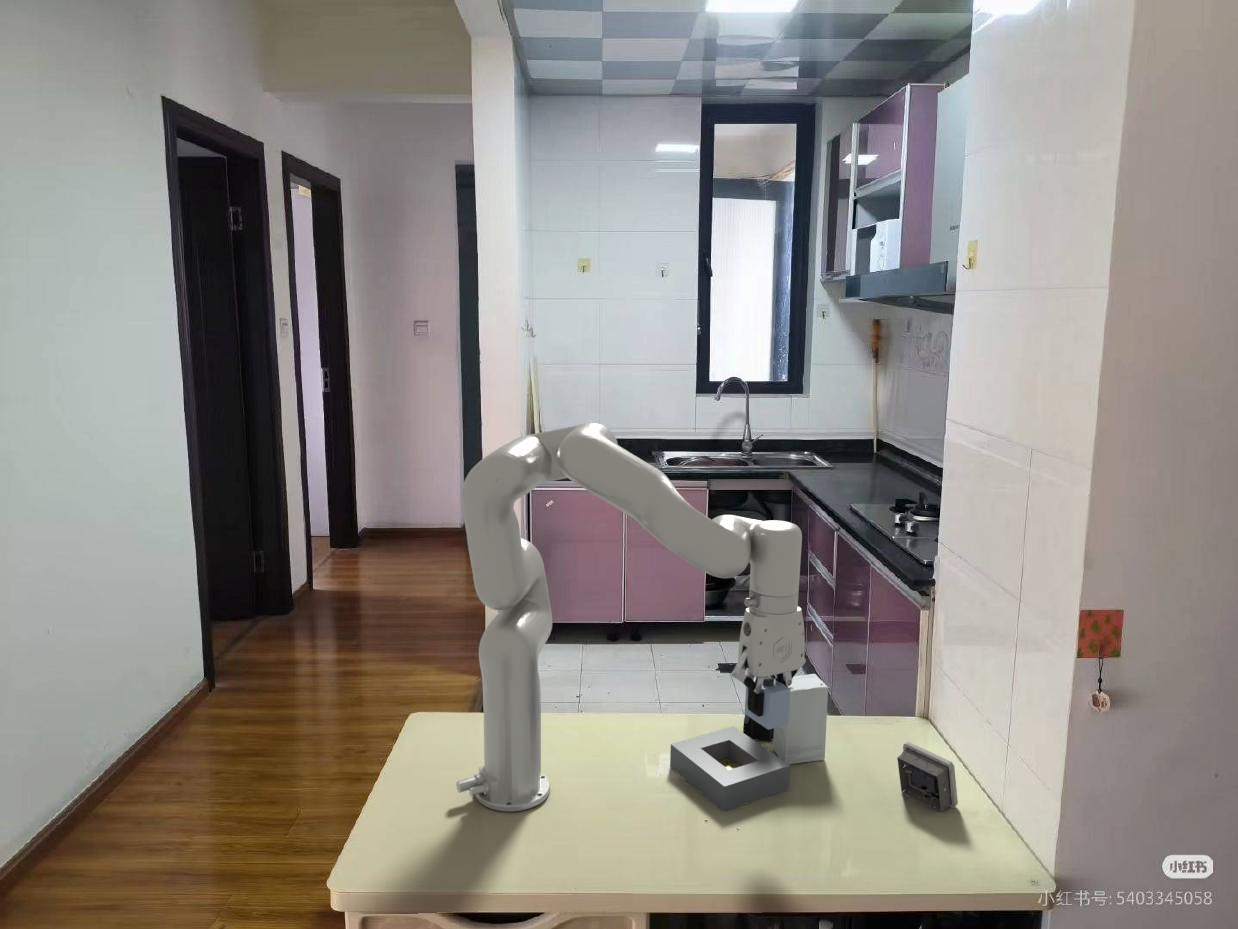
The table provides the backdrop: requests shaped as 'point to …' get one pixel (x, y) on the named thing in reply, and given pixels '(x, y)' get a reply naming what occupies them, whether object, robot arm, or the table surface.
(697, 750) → the socket block
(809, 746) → the skincare box
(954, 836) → the table surface
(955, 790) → the electrical switch
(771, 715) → the plug
